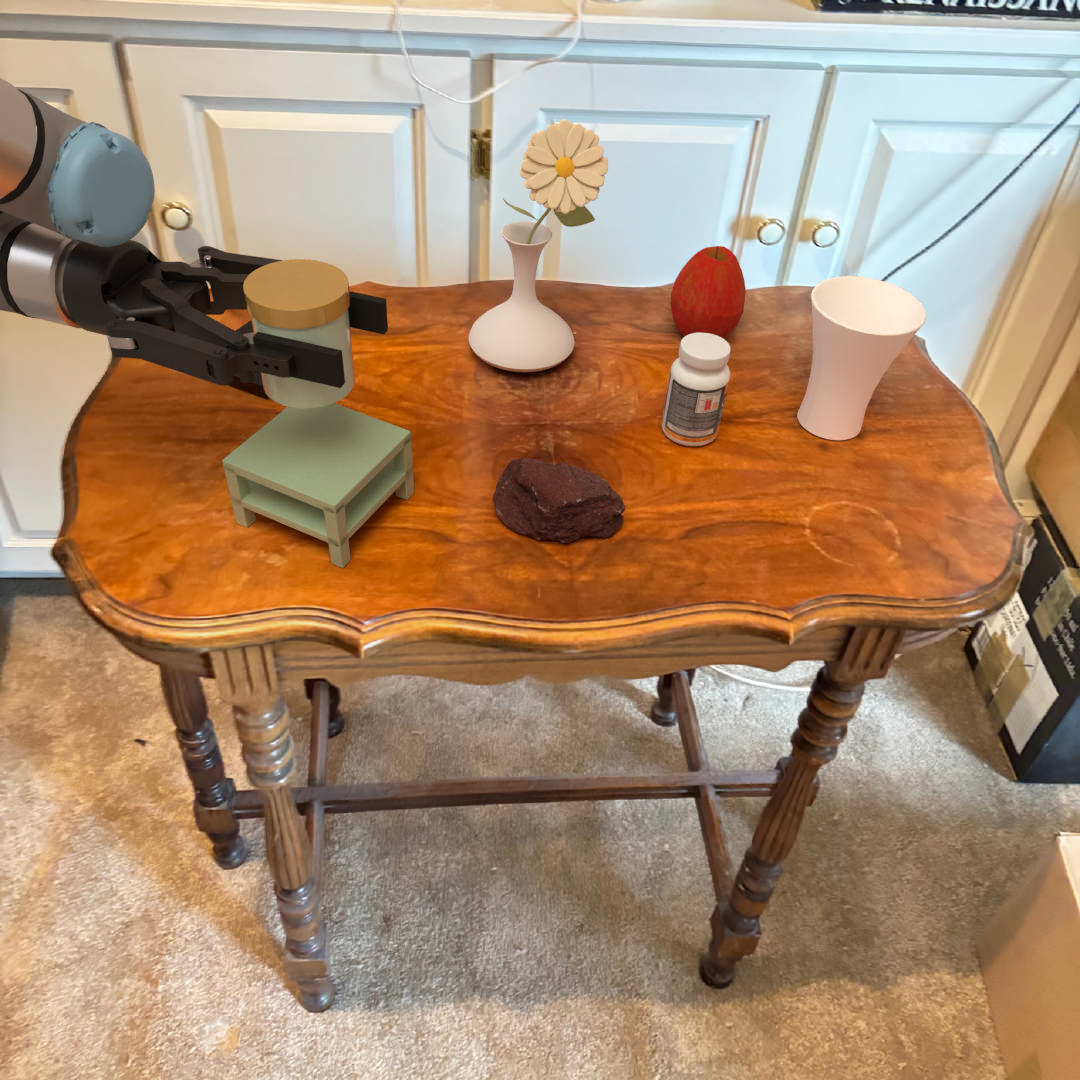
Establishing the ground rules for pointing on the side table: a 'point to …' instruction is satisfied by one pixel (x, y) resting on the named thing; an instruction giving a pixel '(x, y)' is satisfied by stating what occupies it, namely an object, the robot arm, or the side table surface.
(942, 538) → the side table surface
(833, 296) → the cup
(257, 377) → the hot plate
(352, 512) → the shelf
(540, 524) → the rock
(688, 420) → the pill bottle
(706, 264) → the apple
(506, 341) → the flower in vase
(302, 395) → the jar
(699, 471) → the side table surface
